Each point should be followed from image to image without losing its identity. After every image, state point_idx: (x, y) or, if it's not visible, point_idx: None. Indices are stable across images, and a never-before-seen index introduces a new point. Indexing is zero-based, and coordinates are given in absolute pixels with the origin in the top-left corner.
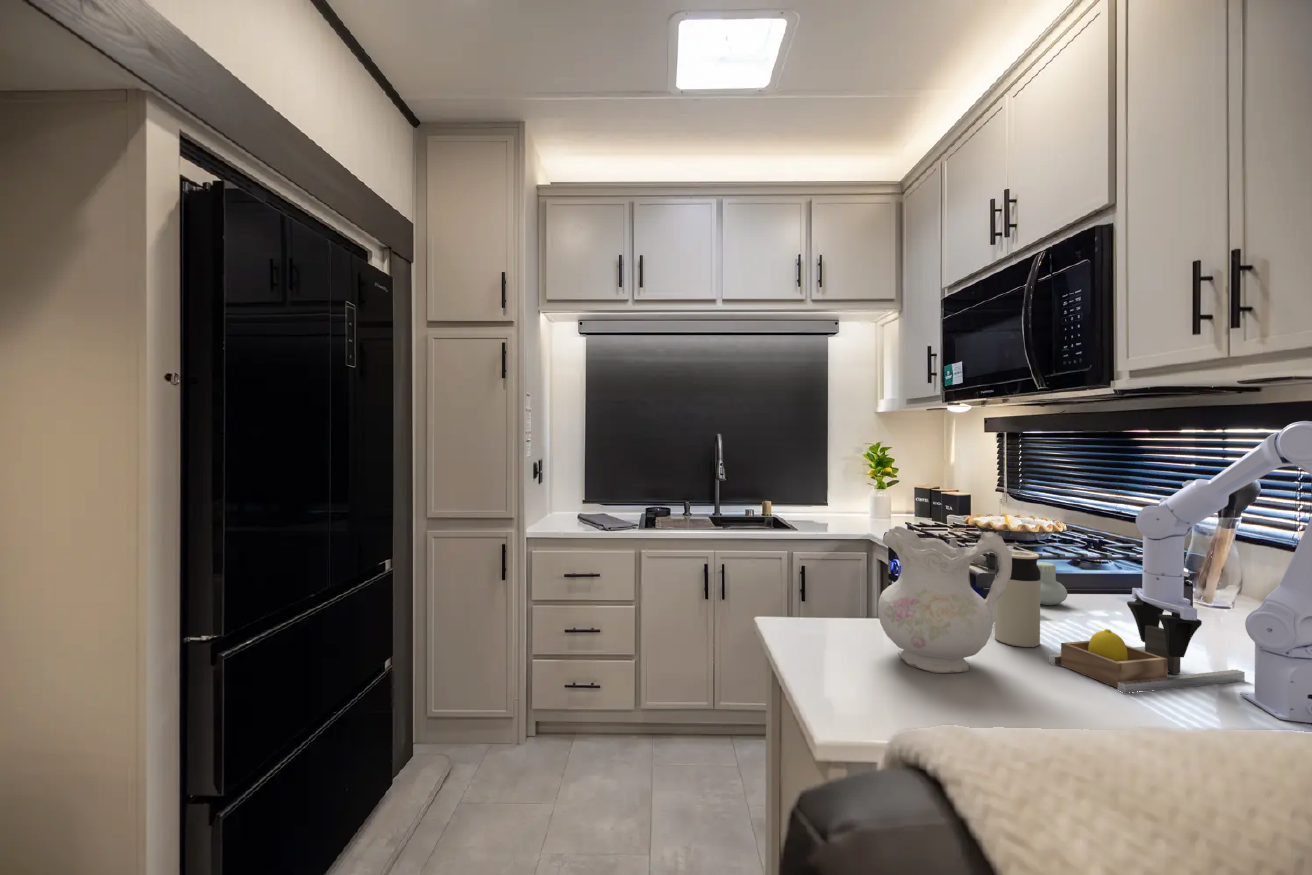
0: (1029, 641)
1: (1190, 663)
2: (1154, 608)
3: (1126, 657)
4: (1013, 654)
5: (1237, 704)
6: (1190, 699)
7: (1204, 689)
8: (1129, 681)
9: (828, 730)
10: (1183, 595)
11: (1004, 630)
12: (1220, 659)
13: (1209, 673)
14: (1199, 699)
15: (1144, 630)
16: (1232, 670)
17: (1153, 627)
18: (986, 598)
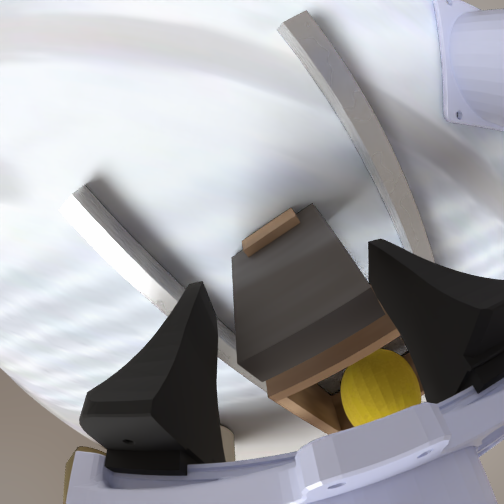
0: (230, 438)
1: (146, 124)
2: (186, 423)
3: (409, 367)
4: (280, 436)
5: (483, 162)
6: (468, 245)
7: (419, 187)
8: None
9: None
10: (471, 492)
11: None
12: (52, 27)
13: (374, 148)
14: (469, 228)
15: (213, 350)
16: (305, 43)
17: (286, 364)
18: None
